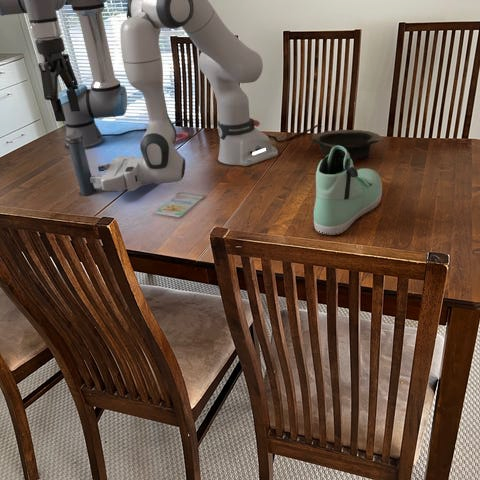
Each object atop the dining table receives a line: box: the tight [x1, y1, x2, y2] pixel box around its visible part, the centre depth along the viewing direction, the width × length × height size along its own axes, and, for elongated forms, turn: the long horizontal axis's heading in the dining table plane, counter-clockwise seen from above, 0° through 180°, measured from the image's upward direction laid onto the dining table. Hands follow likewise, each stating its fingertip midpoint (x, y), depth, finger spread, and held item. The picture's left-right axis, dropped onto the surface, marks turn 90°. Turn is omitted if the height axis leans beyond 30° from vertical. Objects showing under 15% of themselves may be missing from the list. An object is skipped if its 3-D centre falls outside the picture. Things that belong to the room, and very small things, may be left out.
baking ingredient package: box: [153, 192, 205, 218], centre depth 148 cm, size 9×1×15 cm
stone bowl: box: [310, 129, 384, 164], centre depth 171 cm, size 25×25×9 cm
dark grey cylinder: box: [68, 141, 96, 196], centre depth 156 cm, size 4×4×19 cm
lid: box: [65, 133, 83, 144], centre depth 152 cm, size 5×5×2 cm
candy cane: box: [173, 132, 190, 146], centre depth 199 cm, size 6×15×2 cm, turn 145°
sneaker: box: [313, 146, 383, 236], centre depth 133 cm, size 14×35×20 cm, turn 152°
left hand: (68, 115), depth 148 cm, fingers open, 9 cm apart
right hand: (94, 173), depth 158 cm, fingers open, 8 cm apart
